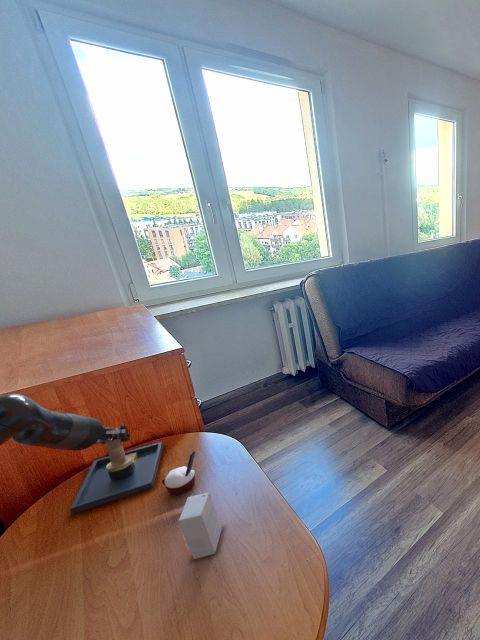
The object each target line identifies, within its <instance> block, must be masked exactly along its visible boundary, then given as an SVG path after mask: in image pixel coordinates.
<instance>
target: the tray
mask: <svg viewBox="0 0 480 640" xmlns="http://www.w3.org/2000/svg"><path fill="white" fill-rule="evenodd" d="M163 449H164V443H163V441H159V442H155V443H152V444H148V445H144V446H141V447H137V448H133V449H130V450H127V451H124V453H125V455H129V454H132V453H137V455H138V457H137V460H136V463H135V465H134V466H133V467H134V471H133V472H132V473H131V474H129V475H128V476H126V477H123V478H120V479H116V480H111V479H110V477H109V474H108V471H107V469H106V466H107V465H108V464H109V463H110V462H111V461H110V458H109V455H108V456H105V457H101V458H98V459H94V460H93V461H92V463H91V466H90V468H89V469H88V472H87V474H86V476H85V478H84V480H83V482H82V484H81V486H80V488H79V490H78V492H77V494H76V496H75V498H74V500H73V502H72V504H71V506H70V511H71V513H72V514H75V513H79V512H82V511H84V510H88V509H91V508H94V507H97V506H99V505H103V504H105V503H106V504H107V503H108V502H112V501H115V500H118V499H122V498H124V497H128V496H130V495H134V494H137V493H140V492H142V491H145V490H148V489H152V488H154V486H155V481H156V477H157V473H158V469H159V465H160V461H161V457H162V453H163Z"/></svg>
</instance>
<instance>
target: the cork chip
mask: <svg viewBox="0 0 480 640" xmlns="http://www.w3.org/2000/svg"><path fill="white" fill-rule="evenodd" d="M127 456H129V457H131V458H132V463H133V466H134V465H135V463H136V460H137V457H138V455H137V453H132V454H129V455H125V457H127Z"/></svg>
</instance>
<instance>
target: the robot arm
mask: <svg viewBox="0 0 480 640" xmlns="http://www.w3.org/2000/svg"><path fill="white" fill-rule="evenodd" d="M116 428H117V427H108V426H107V425H103V424H102V423H101V421H100V420H99V419H96V418H95V417H89V416H85V415H81V414H74V413H63V412H58V411H52V410H50V409H47V408H45V407H43V406H41V405H40V404H38V403H37V402H36V401H34V400H33V399H32V398H30V397H28V396H26V395H24V394H19V393H8V394H3V395H0V446H2V445H4V444H5V443H6V442H8V441H9V440H12V441H13V442H14V443H16V444H18V445H22V446H27V447H28V446H29V447H40V448H46V449H51V450H62V451H75V452H76V451H77V452H79V451H84V450H86V449H88V448H89V449H90V448H91V447H92V446H94V445H101V444H102V445H106V444H105V443H108V442H113V441H120V442H122V443H126V442H129V441H130V439H131V438H130V437H131V434H130V433H129V431H130V430H129V428H128V426H127V425H122V426H119V427H118V430H116ZM115 435H116V437H115Z"/></svg>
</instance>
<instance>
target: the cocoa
mask: <svg viewBox="0 0 480 640" xmlns="http://www.w3.org/2000/svg"><path fill="white" fill-rule="evenodd" d="M195 456H196V451H195V450H193V451H192V453H190V455H189V458H188V463H187V466H185V465H183V466H179V467H177V468H173V469H171V470H170V471H169V472H168V473H167V475H166V476H165V478H163V479H162V480H161V484H162V485H163V486H165V488H166V490H167V491H168V493H169V494H170V495H173V496H181V495H183V494H185V493H188V492H189V491H191V490H192V488H193V487H194V485H195V480H196V474H195V471H196V470H194V469H192V467H193V464H194V459H195Z"/></svg>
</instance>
